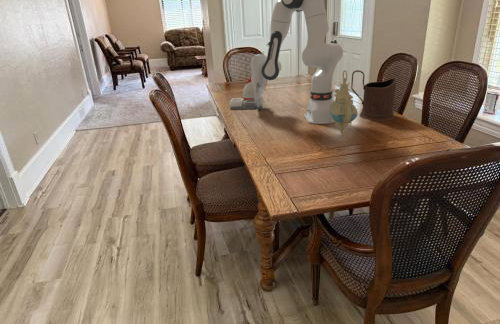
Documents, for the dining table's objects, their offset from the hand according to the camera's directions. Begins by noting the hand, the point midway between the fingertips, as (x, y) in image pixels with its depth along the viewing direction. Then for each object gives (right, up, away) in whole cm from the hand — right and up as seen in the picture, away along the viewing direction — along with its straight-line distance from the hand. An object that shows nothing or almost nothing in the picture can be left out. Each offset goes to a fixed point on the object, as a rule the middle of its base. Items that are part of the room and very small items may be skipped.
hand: (259, 104), depth 214 cm
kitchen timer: (-4, +9, +29) cm, 30 cm away
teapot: (+39, -22, -46) cm, 64 cm away
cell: (0, -3, +1) cm, 3 cm away
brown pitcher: (+62, -11, -22) cm, 67 cm away
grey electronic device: (-10, 0, +8) cm, 13 cm away
